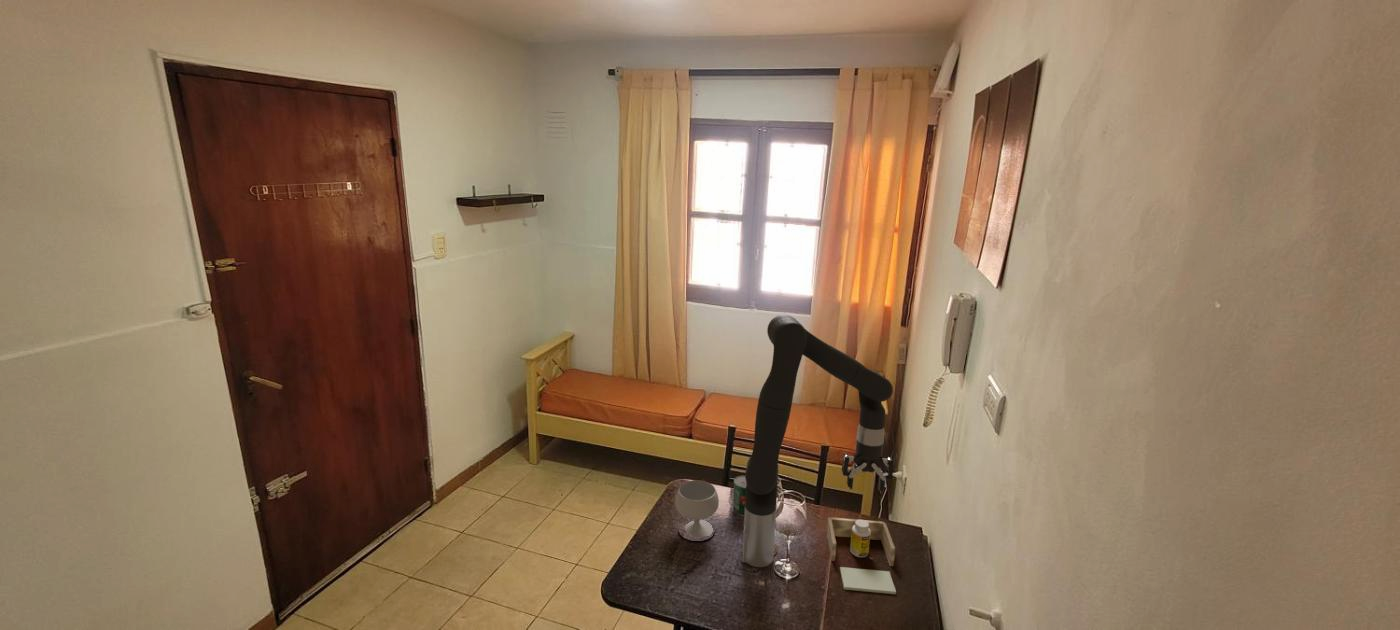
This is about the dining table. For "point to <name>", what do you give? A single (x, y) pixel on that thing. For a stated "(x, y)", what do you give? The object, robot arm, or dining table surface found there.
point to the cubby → (845, 529)
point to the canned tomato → (739, 495)
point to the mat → (867, 580)
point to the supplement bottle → (860, 538)
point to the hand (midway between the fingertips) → (865, 488)
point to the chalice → (697, 506)
